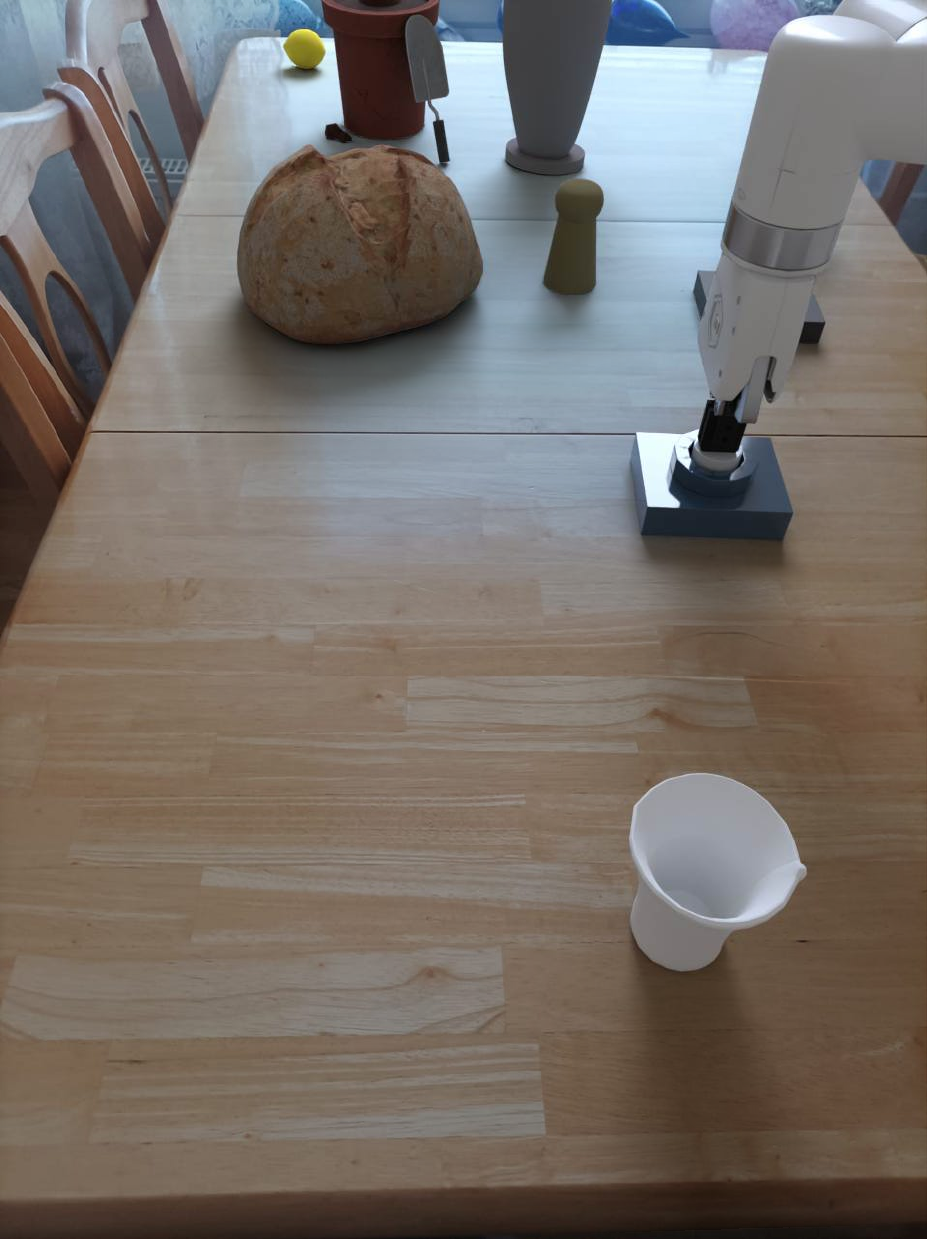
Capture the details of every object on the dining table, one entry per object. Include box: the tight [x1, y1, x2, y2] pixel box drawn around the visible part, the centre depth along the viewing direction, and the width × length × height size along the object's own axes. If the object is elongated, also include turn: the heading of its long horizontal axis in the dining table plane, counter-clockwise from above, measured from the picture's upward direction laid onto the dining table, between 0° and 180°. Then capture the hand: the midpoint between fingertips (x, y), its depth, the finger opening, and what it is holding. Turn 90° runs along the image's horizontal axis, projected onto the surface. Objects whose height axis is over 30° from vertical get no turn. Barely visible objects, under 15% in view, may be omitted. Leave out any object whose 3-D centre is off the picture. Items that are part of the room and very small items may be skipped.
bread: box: [236, 143, 484, 345], centre depth 98 cm, size 26×23×15 cm
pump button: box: [690, 437, 743, 472], centre depth 79 cm, size 4×4×2 cm
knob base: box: [693, 269, 827, 344], centre depth 102 cm, size 12×10×3 cm
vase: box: [502, 0, 613, 176], centre depth 115 cm, size 13×13×35 cm
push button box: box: [629, 428, 794, 542], centre depth 80 cm, size 12×10×5 cm
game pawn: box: [542, 177, 605, 296], centre depth 103 cm, size 6×6×11 cm
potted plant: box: [320, 0, 451, 164], centre depth 124 cm, size 18×22×25 cm
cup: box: [628, 772, 808, 972], centre depth 52 cm, size 9×9×10 cm
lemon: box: [282, 28, 326, 70], centre depth 147 cm, size 7×5×5 cm
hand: (717, 445), depth 78 cm, fingers closed
